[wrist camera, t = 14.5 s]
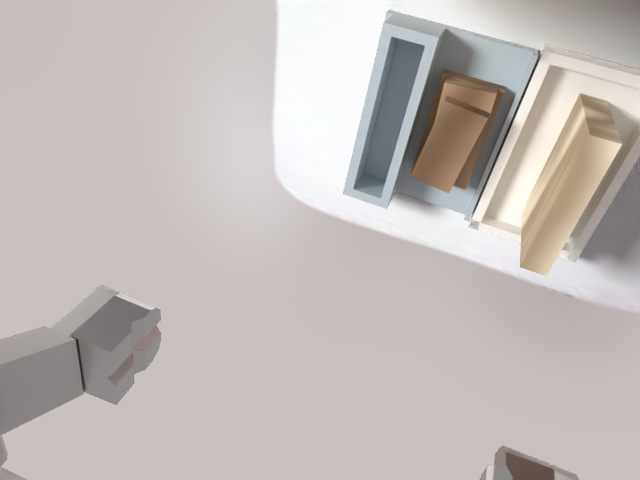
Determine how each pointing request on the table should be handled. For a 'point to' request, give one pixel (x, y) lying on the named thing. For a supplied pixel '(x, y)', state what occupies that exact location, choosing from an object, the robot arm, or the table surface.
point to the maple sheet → (567, 182)
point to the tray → (542, 133)
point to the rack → (427, 106)
